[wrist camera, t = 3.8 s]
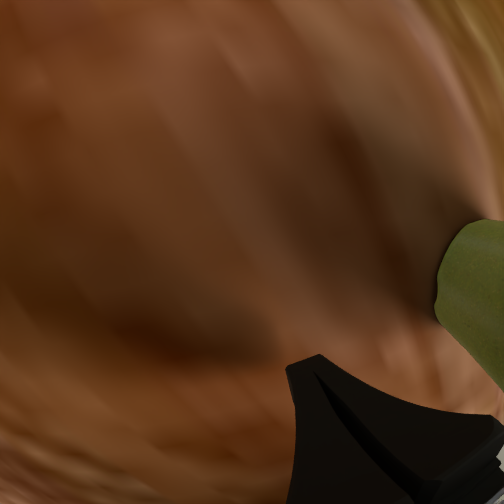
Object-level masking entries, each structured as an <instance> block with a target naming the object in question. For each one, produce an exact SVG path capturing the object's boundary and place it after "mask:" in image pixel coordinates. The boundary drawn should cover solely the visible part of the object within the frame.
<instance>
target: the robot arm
mask: <svg viewBox="0 0 504 504" xmlns="http://www.w3.org/2000/svg"><path fill="white" fill-rule="evenodd" d="M285 370H286V375H287V379H288V383H289V387H290V391H291V395H292V399H293V403H294V405H295V416H296V442H295V455H294V464H293V472H292V478H291V482H290V487H289V492H288V497H287V501H286V504H497V503H498V502H499V500H498V499H499V498H500V497H501V496H502V495H503V494H504V472H503V471H502V470H501V469H500V468H499V466H500V465H501V461H500V460H498V458H497V457H496V456H497V455H498V453H499V451H500V450H501V448H502V447H503V445H504V426H503V425H502V424H501V423H500V422H499V421H498V420H497V419H495V418H494V417H493V416H492V415H482V414H462V413H454V412H447V411H441V410H437V409H432V408H428V407H424V406H419V405H416V404H413V403H410V402H407V401H404V400H401V399H399V398H396V397H394V396H391V395H389V394H386V393H384V392H382V391H380V390H378V389H376V388H374V387H372V386H370V385H368V384H366V383H364V382H363V381H361V380H359V379H357V378H356V377H354V376H352V375H351V374H349V373H347V372H346V371H344V370H343V369H341V368H340V367H338V366H337V365H335V364H334V363H332V362H331V361H330V360H328V359H327V358H325V357H324V356H323V355H321V354H318V355H315V356H312V357H310V358H307V359H304V360H302V361H299V362H296V363H293V364H291V365H288V366H287V367H286V368H285ZM499 504H504V500H502V501H501V502H500V503H499Z"/></svg>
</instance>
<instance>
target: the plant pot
mask: <svg viewBox="0 0 504 504" xmlns="http://www.w3.org/2000/svg"><path fill="white" fill-rule="evenodd" d="M437 283H438V295H437V299H436V302H435V304H434V309H435V314H436V316H437V319H438V321H439V322H440V324H441V325H442V326H443V327H444V328H445V329H446V330H447V331H448V332H449V333H450V334H451V335H452V336H453V337H454V338H455V339H456V340H457V341H458V342H459V343H460V344H461V345H462V346H463V347H464V348H465V349H466V350H467V351H468V352H469V353H470V355H471V356H472V357H473V358H474V359H475V360H476V361H477V362H478V363H479V364H480V366H481V367H482V368H483V369H484V370H485V371H486V372H487V374H488V375H489V376H490V377H491V378H492V379H493V380H494V381H495V383H496V384H497V385H498V386H499V387H500V388H501V390H502V391H503V392H504V221H497V220H489V219H483V220H479V221H476V222H473V223H470V224H467V225H466V226H465V227H464V228H463V229H462V230H461V231H460V232H459V233H458V234H457V235H456V237H455V238H454V240H453V241H452V243H451V244H450V246H449V248H448V250H447V252H446V254H445V256H444V258H443V260H442V263H441V265H440V268H439V271H438V275H437Z"/></svg>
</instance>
